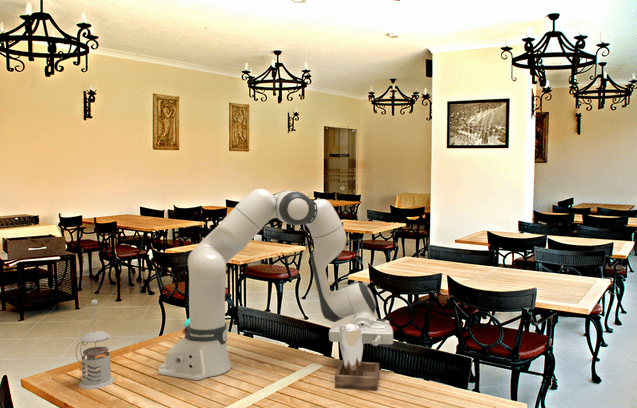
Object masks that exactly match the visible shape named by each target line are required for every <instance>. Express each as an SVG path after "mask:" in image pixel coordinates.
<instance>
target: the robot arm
mask: <svg viewBox="0 0 637 408" xmlns="http://www.w3.org/2000/svg"><path fill="white" fill-rule="evenodd" d="M273 219H277V220H278V221H281V222H282V223H284V224H288V225H290V226H300V225H301V226H302V225H305V226H306V227H307V228H308V230H309V233H310V235H311V238H312V240H313V251H311V252H310V253H311V254H310V263H311V268H312V273H313V278H314V282H315V286H316V289H317V290H316V291H317V293H318V299H319V304H320V305H319V307H320V311H321V314H322V316H323V318H324V319H325V320H327V321H329V322H332V323H336V322H339V321H341V320H344V319H345V318H347V317H351V316H353V315H354V316H353V317H352V320H351V323H350V324H357V325H360V326H361V329H362V336H363V345H366V344H371V346H372V347H378V345H392V344H394V330H393V327H392V326H391V324H390V321H389V320H387V319H381V318H379V316H378V313H377V310H376V309H377V302H376V299H375V295H374V293H373V292H372V289H371V288H370V287H369V285H368V286H367V285H366V284H365V283H362V282H357V283H353V284H351V285H348V286H346V287H343V288H340V289H337V290H334V291H332V290H331V288H330V285H329V279H328V276H327V272H326V269H327V266H328V265H329V264H330V263H332V261H334V259H336V258H337V257H339V255H340V254H341V253H342V252H343V250H344V248H345V246H346V245H347V238H348V237H347V234H346V231H345V228H344V226H343V224H342V221H341V219H340V217H339V215H338V213H337V211H336V210H335V208H334V206H333V205H332V203H331V202H330V201H329V200H328V199H325V198H324V199H323V198H318V199H315V200H312V199H311V198H310V197H308V196H307V195H306V194H305V193H303V192H300V191H297V190H290V189H289V190H282V191H279V192H276V193H273V194H272V193H271V192H270V191H268V190H266V189H264V188H260V187H259V188H256V189H254V190H252V191H251V192H249V193H248V194H247V195H246V196H244V197H243V198H242V199H241V200H240V201H239V202H238V203H237V204H236V205H235V207H233V209H232V210H231V211H229V213H228V214H227V215H226V216H225V217H224V218H223V219H222V221H221V222H219V224H218V225H217V226H216V227H215V228H214V229H213V230H212V231H210V233H209V234H208V235H206V236H204V238H203V239H202V240H201V241H200V242H199V243H198V244H197V245H196V246H195V247H194V249H192V251H191V252H189V255H188V258H187V265H188V266H187V267H188V279H189V280H188V281H189V282H188V285H189V288H188V289H189V290H188V292H189V294H188V295H189V296H188V300H189V301H188V307H189V309H188V310H189V314H188V315H189V316H188V317H189V318H190V323H189V324H188V326H187V327H185V326H184V328H183V330H182V333H181V334H182V335H183V334H184V337H183V338H181V339H180V340H179V341H177V342H176V343H175V344H174V345H173V346H172V347H170V349H169V350H168V351H167V353H166V354H167V355H166V358H165V362H163V363H162V364H161V365H160V366H159V367H158V374H159V375H163V376H169V377H175V378H180V379H186V380H187V379H188V380H194V381H200V380H203V379H206V378H210V377H216V376H219V375H223V374H225V373H226V372H229V370H231V369H232V364H231V360H230V358H229V353H228V348H227V347H228V346H227V341H228V328H227V327H228V326H227V322H226V305H225V303H226V299H225V298H226V284H227V283H226V281H227V276H226V275H227V263H229V262H230V261H231V260H232V259H233V258H234V257H235V256H236V255H237V254H239V253H240V252H241V251H242V250H244V249H245V248H246V247H247V245H248V244H249V243H250V242H251V241H252V240H253V239H254V238H255V237H256V236H257V235H258V233H259V232H260V231H261V230H262V229H263V227H264V226H265V225H266V224H267V223H268V222H269V221H271V220H273ZM343 325H344V324H336V325H333V326H331V328H330V329H329V331H328V340H329V342H332V343H340V341H339V327H340V326H343Z"/></svg>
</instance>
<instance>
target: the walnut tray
mask: <svg viewBox="0 0 637 408" xmlns="http://www.w3.org/2000/svg"><path fill="white" fill-rule="evenodd" d="M362 369H363V373H364V376H351V375H344V361H343V360H340V361H339V365H338V367H337V369H336V372H335V375H334V388H335V389H348V390H365V391H376V392H377V391H378V387H379V386H378V385H379V378H380V363H379V362H369V361H362Z"/></svg>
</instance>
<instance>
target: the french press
mask: <svg viewBox="0 0 637 408" xmlns="http://www.w3.org/2000/svg"><path fill="white" fill-rule="evenodd" d="M97 304H98V300H97V299H92V300H91V302H90V305H93V308H94V309H93V310H94V311H93V314H94V315H93V317H94V322H96V305H97ZM110 337H111V334H109V333H107V332H105V331H102V330H101V331H100V330H96V326H94V331H91V332H88V333H85V334H84V335H83V336H82V337H80V339H79V340H80V342H78V344H77V345H76V348H75V356H76V360H77V362H78V363H79V364H80V365H81V377H82V379H81V381H80V382H79V384H78V386H79V388H81V389H83V390H94V389H101V388H104V387H106V386H107V387H108V386H110V385H111V384H113V383H114V382H115V378H114V377H113V376H112V375H111V373H112V372H111V353H110V352H109V350H110V348H109V347H108V346H97V343H100V342H103V341H106V340H109V338H110ZM84 343H85V344H84ZM88 343H89V344H93V343H94V346H93V347H88V348H85V349H84V350H83V351H82V346H84V347H85V346H87V345H88ZM79 345H80V347H79ZM78 347H79V354H80V356H81V362H80V360H79V358H78V352H77V351H78ZM82 354H83V355H82ZM101 355H104V356H101Z"/></svg>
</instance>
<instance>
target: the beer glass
mask: <svg viewBox="0 0 637 408" xmlns="http://www.w3.org/2000/svg"><path fill="white" fill-rule="evenodd" d="M342 325H343V326H340V327H339V341H340V342H339V348H340V353H341V356H342V361H344V375H351V376H364V373H363V369H362V362H363V361H362V360H363V351H364V344H363V336H362V329H361V326H360V325H357V324H351V323H349V324H348V323H347V324H342Z"/></svg>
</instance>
